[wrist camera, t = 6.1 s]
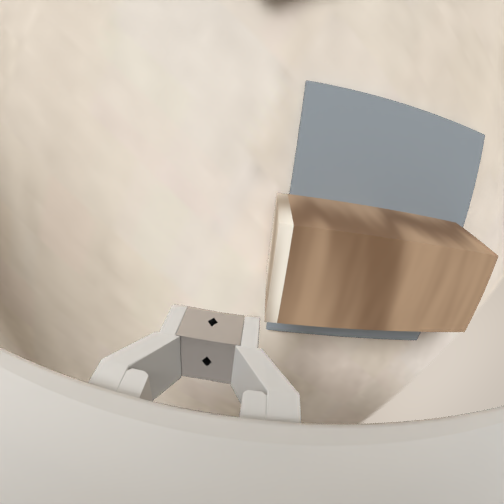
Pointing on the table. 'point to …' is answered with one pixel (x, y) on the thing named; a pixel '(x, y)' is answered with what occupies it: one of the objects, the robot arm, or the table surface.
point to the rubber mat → (381, 165)
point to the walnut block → (371, 268)
